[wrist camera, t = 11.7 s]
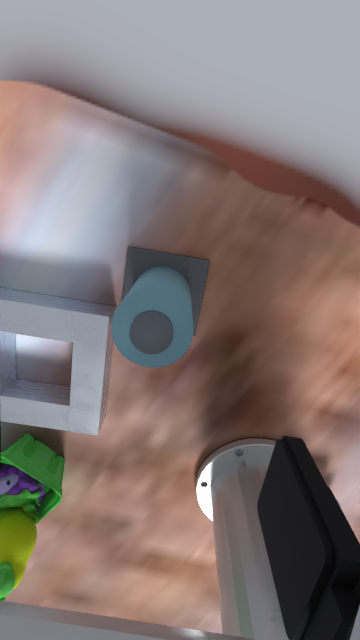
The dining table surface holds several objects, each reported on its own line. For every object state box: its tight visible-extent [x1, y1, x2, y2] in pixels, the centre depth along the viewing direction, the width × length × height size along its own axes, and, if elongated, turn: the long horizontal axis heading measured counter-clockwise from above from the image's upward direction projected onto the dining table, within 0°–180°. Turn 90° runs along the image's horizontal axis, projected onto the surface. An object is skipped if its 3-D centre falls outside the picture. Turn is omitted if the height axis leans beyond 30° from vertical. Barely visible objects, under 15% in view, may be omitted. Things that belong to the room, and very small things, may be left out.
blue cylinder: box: [111, 266, 193, 367], centre depth 23 cm, size 5×5×10 cm
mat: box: [122, 247, 210, 336], centre depth 27 cm, size 7×7×1 cm
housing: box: [0, 288, 117, 435], centre depth 28 cm, size 12×12×3 cm
